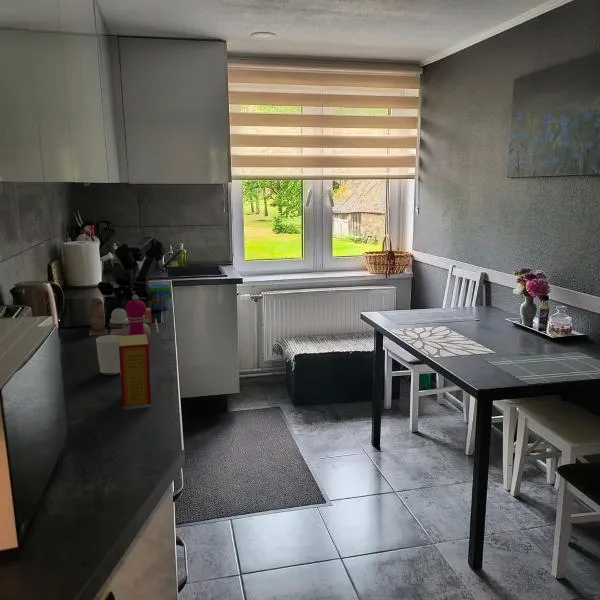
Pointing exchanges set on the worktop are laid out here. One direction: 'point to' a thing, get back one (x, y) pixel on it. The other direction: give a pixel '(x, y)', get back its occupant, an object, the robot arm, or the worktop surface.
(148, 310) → the die
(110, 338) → the white cup
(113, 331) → the game board
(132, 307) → the pepper mill
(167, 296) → the snack cup
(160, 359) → the worktop surface
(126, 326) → the decorative fruit
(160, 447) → the worktop surface
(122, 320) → the dome
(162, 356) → the worktop surface
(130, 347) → the baking soda box
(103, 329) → the pawn
